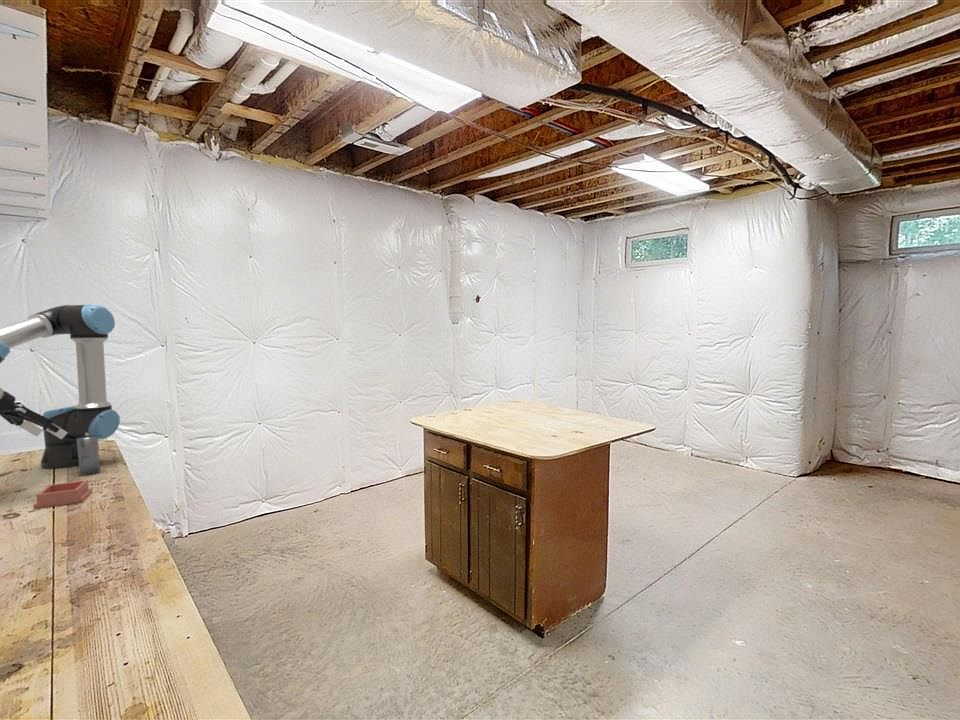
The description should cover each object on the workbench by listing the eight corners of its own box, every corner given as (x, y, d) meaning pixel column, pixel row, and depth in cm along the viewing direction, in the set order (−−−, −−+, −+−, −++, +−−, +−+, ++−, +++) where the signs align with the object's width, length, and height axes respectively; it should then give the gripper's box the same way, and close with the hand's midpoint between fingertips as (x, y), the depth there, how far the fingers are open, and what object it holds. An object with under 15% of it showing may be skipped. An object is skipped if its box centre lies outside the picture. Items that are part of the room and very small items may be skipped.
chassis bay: (46, 497, 154) (45, 485, 153) (92, 491, 159) (91, 479, 158) (33, 508, 145) (32, 495, 144) (82, 501, 150) (81, 489, 150)
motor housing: (82, 471, 181) (79, 432, 179) (102, 469, 183) (98, 430, 182) (77, 476, 175) (73, 435, 174) (97, 474, 178) (94, 433, 176)
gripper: (-40, 406, 154) (21, 441, 169) (6, 410, 146) (66, 446, 161) (-20, 388, 158) (38, 423, 174) (26, 391, 150) (82, 427, 165)
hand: (51, 434), depth 167 cm, fingers open, 13 cm apart
